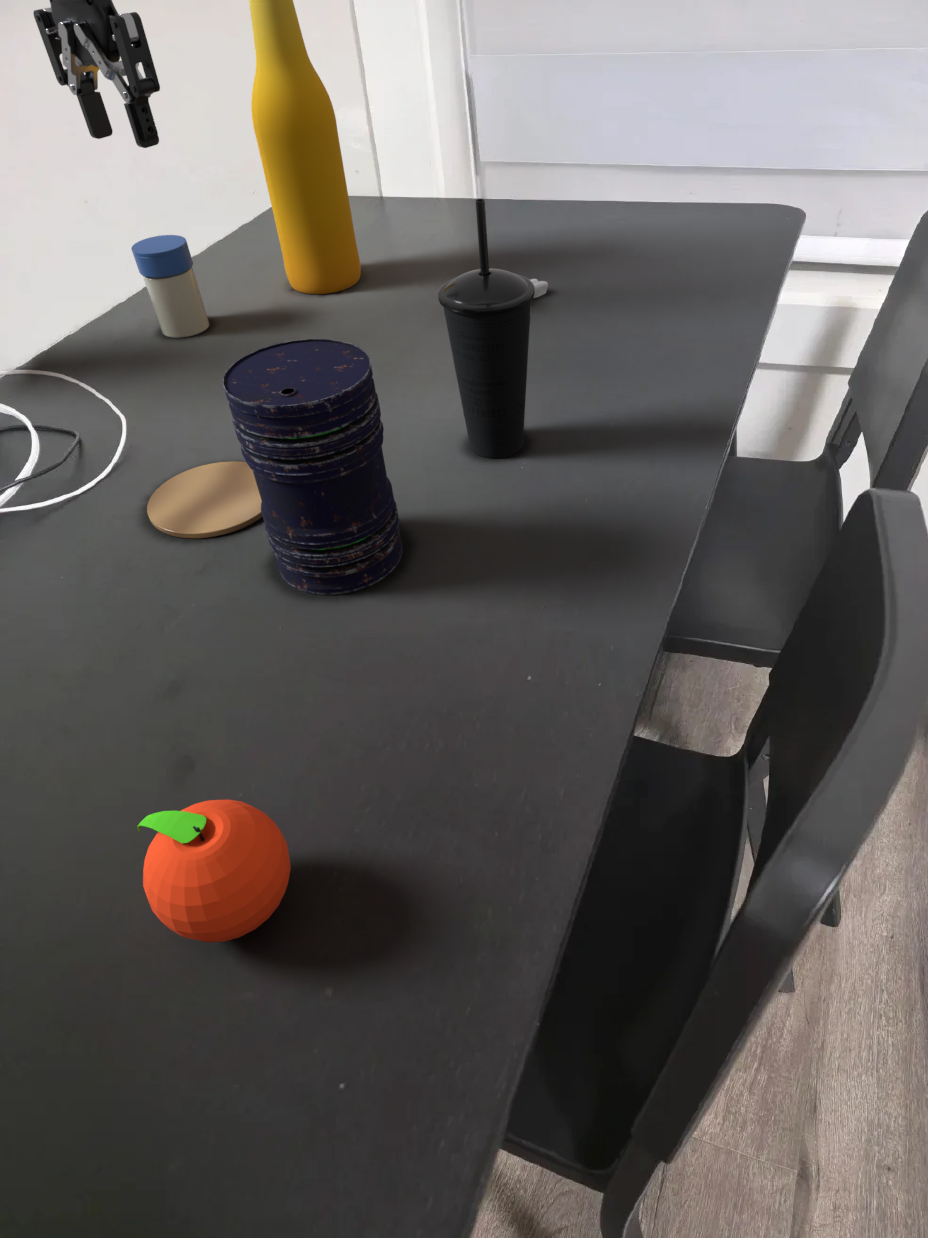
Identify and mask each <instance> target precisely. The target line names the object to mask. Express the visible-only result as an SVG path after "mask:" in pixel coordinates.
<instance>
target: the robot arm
mask: <svg viewBox="0 0 928 1238" xmlns="http://www.w3.org/2000/svg"><path fill="white" fill-rule="evenodd" d="M49 4H50V7H44V8H40V9H34V10H33V19H34V20H35V21H34V22H35V23H36V26H37V29H38V31H39V35H40V37H41V40H42V43H43V45H44V48H45V51H46V54H47V56H48V59H49V62H50V65H51V68H52V71H53V72H54V76H55V79H56V81H57V83H58V84H59V86H62V87H63V86H64V87H65V86H67V87H68V88H69V90H70V92H71V94H72V95H73V96H76V98H77V101H78V104H79V107H80V109H81V112H82V115H83V118H84V121H85V123H86V126H87V130H88V133H89V135H90V136H91V137H92V138H93V139H98V140H101V139H105V138H107V137H111V136H112V135H113V127H112V124H111V122H110V118H109V115H108V112H107V109H106V106H105V103H104V100H103V97H102V94H101V92H100V91H98V88H99V86H98V85H99V83H98V81H99V79H98V78H99V77H98V73H99V71H100V72H101V74H102V76H103V77H104V78H105V79H107V80H109V81H111V82H112V83H113V85H114V87H115V88H116V90H117V92H118V93H119V95H120V97H121V98H122V100H123V101H124V102H125V103H123V106H124V109H125V112H126V115H127V118H128V123H129V125H130V128H131V131H132V134H133V138H134V141H135V143H136V146H138V148H142V149H147V148H151V147H155V146H157V145H159V143H160V137H159V132H158V129H157V126H156V122H155V118H154V115H153V112H152V109H151V105H150V101H149V98H151V96H152V94H154V93H157V92H160V91H161V85H160V80H159V78H158V75H157V69H156V67H155V64H154V63H155V62H154V60H153V56H152V53H151V50H150V46H149V42H148V39H147V34H146V31H145V28H144V25H143V22H142V21H143V20H142V18H141V16H140V14H139V13H138V12H137V11H133V12H132V11H131V12H125V13H119V12H118V11H117V8H116V6H115V5H114V2H113V0H49ZM61 57H62V59H61ZM140 63H141V66H142V69H143V73H144V76H143V75H142V73H141V72H140V70H139V66H140ZM64 67H65V68H64ZM124 77H126V79H127V82H126V80H125V78H124Z"/></svg>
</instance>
